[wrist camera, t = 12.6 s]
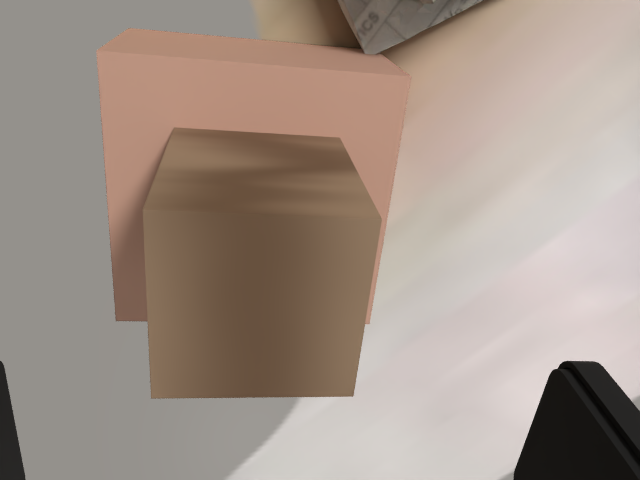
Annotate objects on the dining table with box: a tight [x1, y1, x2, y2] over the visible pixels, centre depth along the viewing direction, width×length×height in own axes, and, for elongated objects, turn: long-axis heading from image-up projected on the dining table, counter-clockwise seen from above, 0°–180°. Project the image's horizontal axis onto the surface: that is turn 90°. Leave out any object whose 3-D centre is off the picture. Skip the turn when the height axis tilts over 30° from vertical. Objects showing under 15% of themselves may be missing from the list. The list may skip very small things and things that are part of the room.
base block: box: [97, 28, 411, 324], centre depth 20 cm, size 9×9×5 cm
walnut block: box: [143, 127, 382, 398], centre depth 16 cm, size 5×5×6 cm
